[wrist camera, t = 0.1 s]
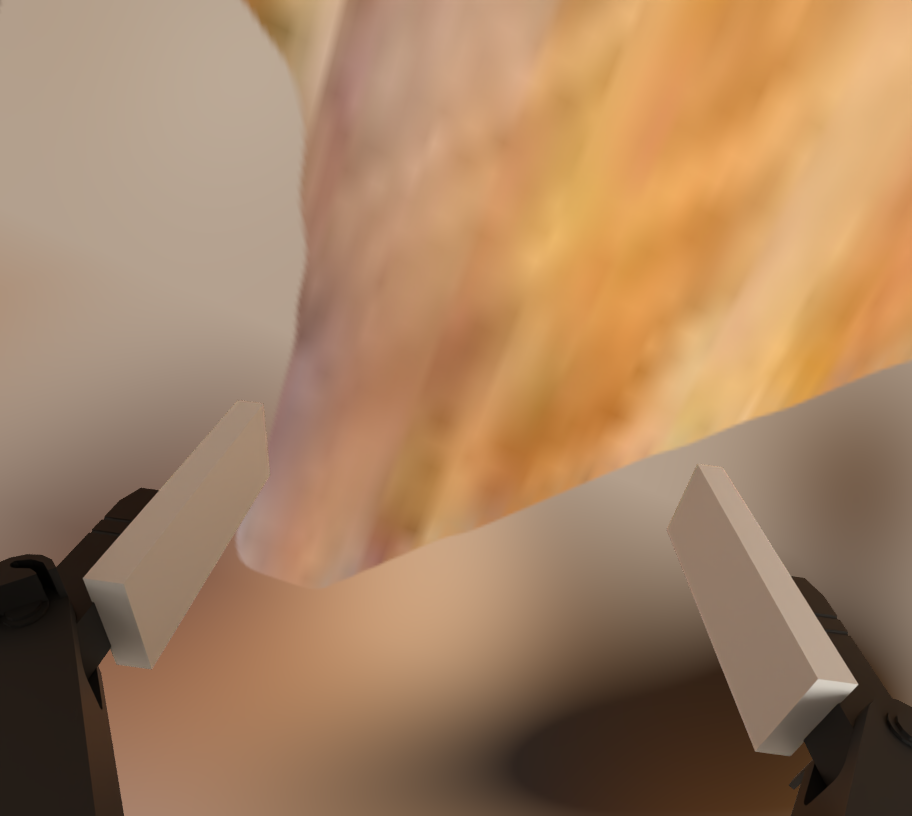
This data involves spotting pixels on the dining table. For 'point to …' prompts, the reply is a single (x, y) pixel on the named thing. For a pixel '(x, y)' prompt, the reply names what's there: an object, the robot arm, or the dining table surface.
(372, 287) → the dining table surface
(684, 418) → the dining table surface
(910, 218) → the dining table surface
